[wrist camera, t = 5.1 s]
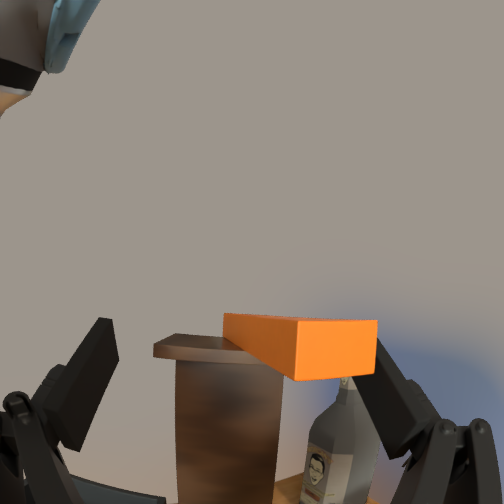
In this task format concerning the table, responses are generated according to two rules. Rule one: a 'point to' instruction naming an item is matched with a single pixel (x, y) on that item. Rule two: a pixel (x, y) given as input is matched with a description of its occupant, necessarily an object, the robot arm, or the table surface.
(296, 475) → the table surface
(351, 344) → the orange bar
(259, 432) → the wooden pedestal column
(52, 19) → the robot arm
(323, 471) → the liquor
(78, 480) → the dark grey open box
